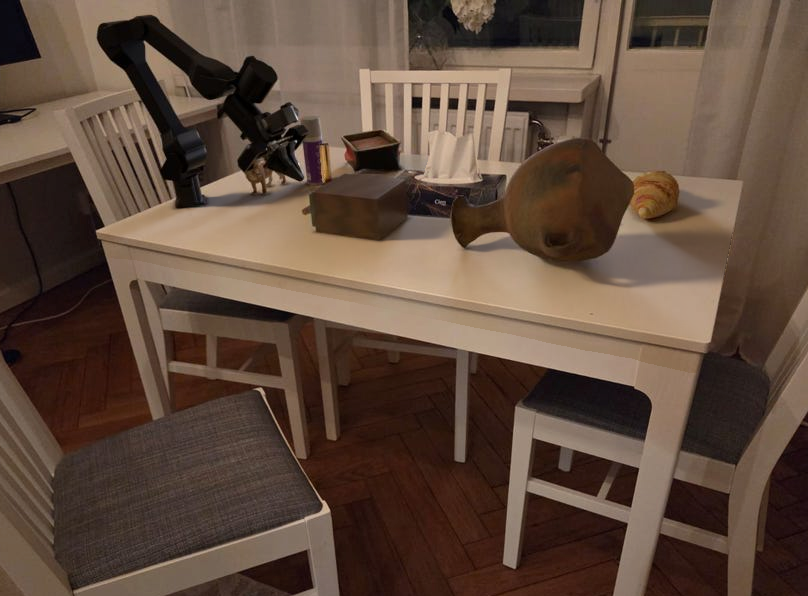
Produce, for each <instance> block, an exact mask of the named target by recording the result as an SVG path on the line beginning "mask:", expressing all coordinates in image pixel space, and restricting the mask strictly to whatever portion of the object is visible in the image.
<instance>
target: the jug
mask: <svg viewBox="0 0 808 596" xmlns="http://www.w3.org/2000/svg"><path fill="white" fill-rule="evenodd" d="M632 180H633V179H631V178H630V176H628V175H627V174H626V173H624V172H623V171H622V170H621V169H620V168H619V167H618V166H617V165H616V164H615V163H614V162H613V161H612V160H611V159H610V158H609V157H608V156H607V155H606V154H605V152H604V151H603V150H602V148H601V147H600V146H599V145H598V143H596V141H594V140H593V139H590V138H588V137H573V138H568V139H563V140H561V141H558V142H555V143H552V144H550V145H548V146H546V147H544V148H542V149H539V150H538V151H537V152H535V153H533V154H532V155H531V156H529V157H528V158H527V159H525V160H524V161H523V162H522V163H521V164H519V166H518V167H517V168H516V169H515V171H514V172H513V173H512V175H511V177H510V179H509V181H508V183H507V185H506V187H505V190H504V193H503V195H502V196H501V197H499V198H498V199H496V200H494V201H491V202H488V203H485V204H480V205H475V204H472V203H471V202H470V200H469V199H468V197H467V196H465V195H457V196H456V197H455V198H454V199H453V201H452V205H451V210H450V217H449V218H450V219H449V220H450V225H451V230H452V233H453V235H454V238H455V241H456V242H457V243H458V245H459V246H460V247H461V248H463V249H466V248H467V247H468V246H469V245H470V244H471V243H473V242H475V241H476V240H477V239H478V238H481V236H484V235H487V234H492V233H493V234H494V233H506V234H509V236H510V237H511V239H512V241H514V243H515V244H516V245H517V246H518V247H520V248H521V249H522V250H524V251H525V252H527V253H529V254H531V255H532V256H535V257H538V258H540V259H543V260H548V261H554V262H560V263H561V262H562V263H578V262H584V261H585V262H586V261H589V260H593V259H596V258H599V257H601V256H604V255H605V254H607V253H608V252H609V251H610V250H611V249H612V247H613V245H614V244H615V241H616V238H617V236H618V233H619V229H620V226H621V224H622V221H623V218H624V216H625V214H626V212H627V210H628V208H629V206H630V205H629V204H630V201H631V199H632V197H633V194H634V184H633V182H632Z"/></svg>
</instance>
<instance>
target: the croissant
mask: <svg viewBox="0 0 808 596" xmlns="http://www.w3.org/2000/svg"><path fill="white" fill-rule="evenodd" d="M631 180H632V182H633V184H634V194H633V197H632V199H631V201H630V204H629V206H630V207H631V208H632V209H633V211H634V212H635V213H637V214H638V217H640V218H641V219H645V220H646V219H648V220H649V219H653V218H658V217H662V216H663V215H665V214H667V213H670V212H671V211H674V210H675V209H677V206H678V203H679V198H680V185H679V183H678V180H677V179H676V178H675V177H674V176H673V175H672V174H670V173H668V172H666V171H665V170H653V171H649V172H645V173H642V174H640V175H638V176H636V177H635V178H632V179H631Z"/></svg>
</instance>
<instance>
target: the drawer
mask: <svg viewBox="0 0 808 596" xmlns="http://www.w3.org/2000/svg"><path fill="white" fill-rule="evenodd" d="M308 201H309V205H307V206H305V207H304V208H302V209H301V213H302V215H303V216H308V215H310V218H311V226H312V227H315V228H316V226H315V217H314V208H313V199H312V192H310V193H308Z"/></svg>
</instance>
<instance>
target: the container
mask: <svg viewBox="0 0 808 596" xmlns="http://www.w3.org/2000/svg"><path fill="white" fill-rule="evenodd" d="M300 125H304V126H305V127H306V129H307V130H308V131H309V134H308V135H307V137H306V138H305V139H304V140H303V142H302V151H303V158H304V167H305V168H304V169H305V174H306V175H305V176H306V184H307V185H309V186H320V185H325V183H323V182H322V180H321V179H322V175H321V162H320V153H319V145H320V144H323V145H324V143H323V135H322V127H321V117H320V116H319V115H307V116H302V117H300Z"/></svg>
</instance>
